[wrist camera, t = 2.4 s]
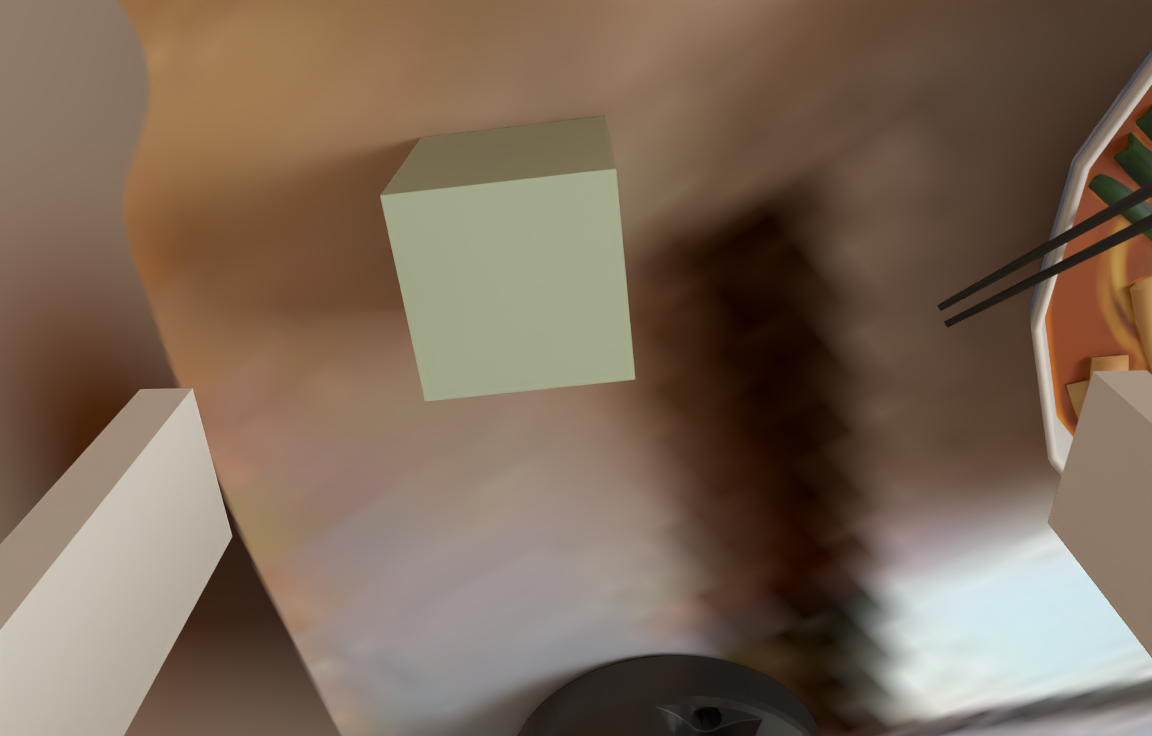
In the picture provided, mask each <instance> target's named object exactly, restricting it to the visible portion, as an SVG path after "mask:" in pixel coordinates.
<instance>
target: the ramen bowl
mask: <svg viewBox="0 0 1152 736" xmlns="http://www.w3.org/2000/svg"><path fill="white" fill-rule="evenodd" d="M1043 255H1044V259H1043V262H1042V266H1041V269H1040V272H1039V273H1037V274H1035V275H1033V276H1031V277H1029V278H1028V279H1026V280H1024V281H1022V282H1020V283H1018V284H1016V285H1014V286H1012V287H1010V288H1008V289H1006V290H1004V291H1003V292H1001V293H999V294H997V295H995V296H993V297H991V298H989V299H987V300H985V301H983V302H981V303H979V304H977V305H976V306H974V307H972V308H970V309H968V310H966V311H964V312H962V313H960V314H958V315H956V316H954V317H952V318H951V319H949V320H947V321H945V322H944V323H945V325H946V326H947V327H950V326H952V325H954V324H956V323H958V322H960V321H962V320H964V319H966V318H968V317H970V316H972V315H974V314H976V313H978V312H980V311H983V310H985V309H987V308H989V307H991V306H993V305H995V304H997V303H999V302H1001V301H1003V300H1005V299H1007V298H1009V297H1011V296H1013V295H1015V294H1018V293H1020V292H1022V291H1024V290H1026V289H1028V288H1030V287H1032V286H1034V285H1036V286H1035V290H1034V293H1033V297H1032V300H1031V304H1030V311H1031V333H1032V341H1033V348H1034V356H1035V364H1036V371H1037V379H1038V386H1039V394H1040V402H1041V409H1042V417H1043V424H1044V432H1045V439H1046V447H1047V455H1048V461H1049V462H1050V464H1051V465H1052V466H1053V467H1054V469H1055V470H1056V471H1057V472H1058V473H1059V475H1060V476H1061V477H1062V473H1063V470H1064V467H1065V463H1066V460H1067V457H1068V453H1069V450H1070V447H1071V444H1072V440H1073V437H1074V434H1075V430H1076V427H1077V424H1078V420H1079V417H1080V414H1081V410H1082V407H1083V404H1084V401H1085V397H1086V394H1087V391H1088V387H1089V384H1090V381H1091V377H1092V374H1093V371H1136V370H1147V371H1148V372H1149V373H1150V374H1152V49H1151V51H1150V52H1149V53H1148V55H1147V56H1146V57H1145V59H1144V60H1143V62H1142V63H1141V64H1140V66H1139V67H1138V69H1137V70H1136V71H1135V73H1134V74H1133V75H1132V77H1131V78H1130V80H1129V81H1128V82H1127V84H1126V85H1125V86H1124V88H1123V89H1122V91H1121V92H1120V93H1119V95H1118V96H1117V98H1116V99H1115V100H1114V102H1113V103H1112V104H1111V106H1110V107H1109V109H1108V110H1107V111H1106V113H1105V114H1104V115H1103V117H1102V118H1101V120H1100V121H1099V122H1098V124H1097V125H1096V126H1095V128H1094V129H1093V131H1092V132H1091V133H1090V135H1089V136H1088V138H1087V139H1086V140H1085V142H1084V143H1083V144H1082V146H1081V147H1080V149H1079V150H1078V151H1077V153H1076V154H1075V156H1074V157H1073V159H1072V163H1071V166H1070V169H1069V173H1068V176H1067V180H1066V183H1065V187H1064V190H1063V193H1062V197H1061V200H1060V204H1059V207H1058V211H1057V214H1056V218H1055V221H1054V224H1053V228H1052V231H1051V235H1050V238H1049V241H1048V242H1046V243H1044V244H1043V245H1041V246H1039V247H1038V248H1036V249H1034V250H1032V251H1031V252H1029V253H1027V254H1025V255H1024V256H1022V257H1020V258H1019V259H1017V260H1015V261H1013V262H1012V263H1010V264H1008V265H1006V266H1005V267H1003V268H1001V269H999V270H998V271H996V272H994V273H993V274H991V275H989V276H987V277H986V278H984V279H982V280H980V281H979V282H977V283H975V284H973V285H972V286H970V287H968V288H967V289H965V290H963V291H961V292H960V293H958V294H956V295H954V296H953V297H951V298H949V299H947V300H946V301H944V302H942V303H941V304H939V305H937V306H938V308H939V309H940V310H941V311H942V310H944V309H945V308H947V307H949V306H951V305H953V304H955V303H956V302H958V301H960V300H962V299H964V298H966V297H968V296H969V295H971V294H973V293H975V292H977V291H979V290H980V289H982V288H984V287H986V286H988V285H990V284H992V283H993V282H995V281H997V280H999V279H1001V278H1003V277H1004V276H1006V275H1008V274H1010V273H1012V272H1014V271H1016V270H1017V269H1019V268H1021V267H1023V266H1025V265H1027V264H1028V263H1030V262H1032V261H1034V260H1036V259H1038V258H1040V257H1041V256H1043Z"/></svg>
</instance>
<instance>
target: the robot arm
mask: <svg viewBox="0 0 1152 736" xmlns="http://www.w3.org/2000/svg"><path fill="white" fill-rule="evenodd" d="M1048 523H1049V525H1050V526H1051V527H1052V529H1053V530H1054V531H1055V533H1056V534H1057V535H1058V536H1059V538H1060V539H1061V540H1062V542H1063V543H1064V544H1065V546H1066V547H1067V548H1068V549H1069V551H1070V552H1071V553H1072V555H1073V556H1074V557H1075V559H1076V560H1077V561H1078V562H1079V564H1080V565H1081V566H1082V568H1083V569H1084V570H1085V571H1086V573H1087V574H1088V575H1089V577H1090V578H1091V579H1092V581H1093V582H1094V583H1095V584H1096V586H1097V587H1098V588H1099V590H1100V591H1101V592H1102V594H1103V595H1104V596H1105V597H1106V599H1107V600H1108V601H1109V603H1110V604H1111V605H1112V607H1113V608H1114V609H1115V610H1116V612H1117V613H1118V614H1119V616H1120V617H1121V618H1122V620H1123V621H1124V622H1125V623H1126V625H1127V626H1128V627H1129V629H1130V630H1131V631H1132V633H1133V634H1134V635H1135V636H1136V638H1137V639H1138V640H1139V642H1140V643H1141V644H1142V645H1143V647H1144V648H1145V649H1146V651H1147V652H1148V653H1149V655H1150V656H1151V657H1152V374H1150V373H1149V372H1148V371H1147V370H1136V371H1093V374H1092V377H1091V381H1090V384H1089V387H1088V391H1087V394H1086V397H1085V401H1084V404H1083V407H1082V410H1081V414H1080V417H1079V420H1078V424H1077V427H1076V430H1075V434H1074V437H1073V440H1072V444H1071V447H1070V450H1069V453H1068V457H1067V460H1066V463H1065V467H1064V470H1063V473H1062V477H1061V480H1060V483H1059V486H1058V490H1057V493H1056V496H1055V500H1054V503H1053V506H1052V510H1051V513H1050V516H1049V520H1048ZM231 538H232V534H231V530H230V526H229V523H228V520H227V515H226V512H225V508H224V505H223V500H222V497H221V493H220V489H219V486H218V482H217V478H216V474H215V470H214V467H213V463H212V459H211V456H210V452H209V448H208V444H207V441H206V437H205V433H204V430H203V426H202V422H201V418H200V415H199V411H198V407H197V403H196V400H195V396H194V392H193V389H192V388H183V389H140V390H139V391H138V393H137V394H136V395H135V396H134V397H133V398H132V399H131V401H129V402H128V404H127V405H126V406H125V407H124V408H123V409H122V410H121V411H120V413H119V414H118V415H117V416H116V417H115V418H114V419H113V420H112V421H111V423H110V424H109V425H108V426H107V427H106V428H105V429H104V430H103V431H102V432H101V434H100V435H99V436H98V437H97V438H96V439H95V440H94V441H93V442H92V444H91V445H90V446H89V447H88V448H87V449H86V450H85V451H84V452H83V454H82V455H81V456H80V457H79V458H78V459H77V460H76V461H75V462H74V464H73V465H72V466H71V467H70V468H69V469H68V470H67V471H66V473H65V474H64V475H63V476H62V477H61V478H60V479H59V480H58V481H57V482H56V484H55V485H54V486H53V487H52V488H51V489H50V490H49V491H48V492H47V494H46V495H45V496H44V497H43V498H42V499H41V500H40V501H39V502H38V503H37V505H36V506H35V507H34V508H33V509H32V510H31V511H30V512H29V513H28V515H27V516H26V517H25V518H24V519H23V520H22V521H21V522H20V523H19V524H18V526H17V527H16V528H15V529H14V530H13V531H12V532H11V533H10V534H9V536H8V537H7V538H6V539H5V540H4V541H3V542H2V543H1V544H0V736H124V734H125V732H126V731H127V729H128V727H129V725H130V723H131V722H132V720H133V718H134V716H135V714H136V712H137V710H138V709H139V707H140V705H141V703H142V701H143V699H144V698H145V696H146V694H147V692H148V690H149V688H150V687H151V685H152V683H153V681H154V679H155V677H156V675H157V674H158V672H159V670H160V668H161V666H162V665H163V663H164V661H165V659H166V657H167V655H168V653H169V651H170V650H171V648H172V646H173V644H174V643H175V641H176V639H177V637H178V635H179V633H180V632H181V630H182V628H183V626H184V624H185V622H186V620H187V619H188V617H189V615H190V613H191V611H192V610H193V608H194V606H195V604H196V602H197V600H198V598H199V596H200V595H201V593H202V591H203V589H204V587H205V585H206V584H207V582H208V580H209V578H210V576H211V574H212V573H213V571H214V569H215V567H216V565H217V564H218V562H219V560H220V558H221V556H222V554H223V553H224V551H225V549H226V547H227V545H228V543H229V541H230V540H231ZM518 736H821V734H820V731H819V728H818V726H817V724H816V722H815V720H814V718H813V717H812V715H811V713H810V712H809V711H808V709H807V708H806V707H805V705H804V704H803V703H802V702H801V701H800V700H799V699H798V698H797V697H796V696H795V695H794V694H793V693H792V692H790V691H789V690H788V689H786V688H785V687H784V686H782V685H781V684H779V683H778V682H776V681H775V680H773V679H771V678H769V677H767V676H766V675H764V674H761V673H759V672H757V671H755V670H752V669H749V668H747V667H744V666H741V665H738V664H734V663H731V662H726V661H722V660H717V659H711V658H704V657H694V656H659V657H649V658H642V659H636V660H631V661H626V662H622V663H618V664H615V665H611V666H608V667H605V668H602V669H599V670H596V671H594V672H592V673H589V674H587V675H585V676H583V677H581V678H579V679H577V680H575V681H573V682H571V683H569V684H568V685H566V686H565V687H563V688H561V689H560V690H558V691H557V692H556V693H554V694H553V695H552V696H550V697H549V698H548V699H547V700H546V701H545V702H544V703H542V704H541V705H540V706H539V707H538V708H537V709H536V711H535V712H534V713H533V714H532V715H531V716H530V718H529V719H528V720H527V722H526V723H525V725H524V726H523V728H522V730H521V732H520V733H519V735H518Z"/></svg>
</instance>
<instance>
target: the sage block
mask: <svg viewBox="0 0 1152 736" xmlns="http://www.w3.org/2000/svg"><path fill="white" fill-rule="evenodd" d="M380 198H381V202H382V207H383V211H384V216H385V220H386V225H387V230H388V234H389V239H390V243H391V248H392V252H393V257H394V261H395V266H396V271H397V275H398V280H399V284H400V289H401V293H402V298H403V302H404V307H405V312H406V316H407V321H408V325H409V330H410V334H411V339H412V343H413V348H414V353H415V357H416V362H417V366H418V371H419V375H420V380H421V385H422V389H423V394H424V398H425V401H434V400H444V399H453V398H463V397H473V396H482V395H492V394H501V393H511V392H521V391H530V390H540V389H549V388H559V387H568V386H578V385H588V384H597V383H607V382H616V381H626V380H635V371H634V360H633V349H632V338H631V327H630V316H629V305H628V294H627V283H626V272H625V261H624V250H623V239H622V228H621V217H620V206H619V195H618V184H617V173H616V166H615V161H614V157H613V152H612V148H611V143H610V139H609V134H608V130H607V125H606V121H605V116H601V117H592V118H583V119H575V120H566V121H558V122H549V123H540V124H532V125H523V126H515V127H506V128H497V129H489V130H480V131H472V132H463V133H454V134H446V135H437V136H429V137H421V138H420V140H419V141H418V142H417V144H416V145H415V147H414V148H413V150H412V151H411V152H410V154H409V155H408V157H407V158H406V159H405V161H404V162H403V164H402V165H401V167H400V168H399V169H398V171H397V172H396V174H395V175H394V177H393V178H392V179H391V181H390V182H389V184H388V185H387V186H386V188H385V189H384V191H383V192H382V194H381V195H380Z"/></svg>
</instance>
